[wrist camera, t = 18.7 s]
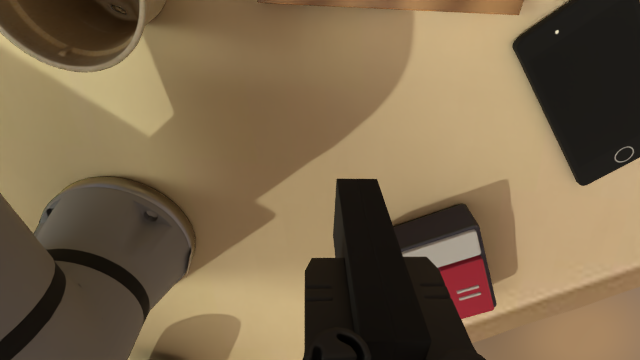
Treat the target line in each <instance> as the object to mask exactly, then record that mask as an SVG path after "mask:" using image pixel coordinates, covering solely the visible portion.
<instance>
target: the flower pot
mask: <svg viewBox="0 0 640 360" xmlns="http://www.w3.org/2000/svg"><path fill="white" fill-rule="evenodd" d="M164 3H165V0H0V32H1V34H2V35H3V36H5V37H6V38H7V39H8V40H9V41H10V42H12V43H13V44H14V45H15V46H17V47H18V48H19V49H21V50H22V51H24V52H25V53H27V54H29V55H30V56H32V57H34V58H36V59H37V60H39V61H41V62H44V63H46V64H48V65H50V66H53V67H57V68H60V69H64V70H69V71H75V72H94V71H101V70H104V69H107V68H110V67H112V66H115V65H116V64H118V63H120V62H121V61H123V60H124V59H125V58H126V57H127V56H128V55H129V54H130V53H131V52H132V51H133V50H134V48H135V47H136V46H137V44H138V42H139V40H140V38H141V36H142V33H143V30H144V27H145V25H147V24H148V23H149V22H150V21H151V20H152V19H154V18H155V17H156V16H157V15H158V14H159V13H160V11H161V10H162V8H163V6H164ZM111 5H114V6H117V7H119V6H120V8H121V9H123V10H125V11H126V14H123V13H121V12H118V11H116V10H114V9H113V8H112V6H111Z"/></svg>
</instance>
